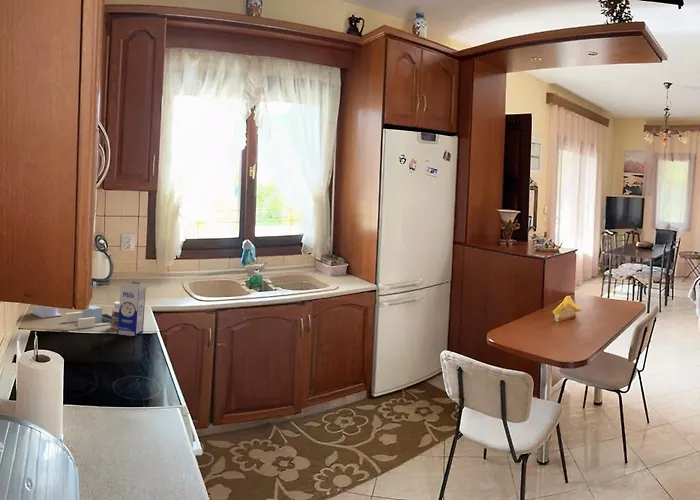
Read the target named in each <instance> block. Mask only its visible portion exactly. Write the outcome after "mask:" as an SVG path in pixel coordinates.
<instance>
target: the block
mask: <svg viewBox="0 0 700 500" xmlns="http://www.w3.org/2000/svg"><path fill="white" fill-rule="evenodd" d="M88 306H89V308H88V310H86V311H83V310H82V312H83V313H82V318H90V317H95V324H101V323H103V321H102V314H103V307H102V306H98V305H93V304H92V305H88Z"/></svg>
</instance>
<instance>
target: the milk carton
mask: <svg viewBox="0 0 700 500" xmlns="http://www.w3.org/2000/svg"><path fill="white" fill-rule="evenodd" d="M146 287H147V286H146V285H142V284H141V283H140V282H139V281H133V280H132V281H131V283H129V282H120V287H119V288H120V290H119V301H120V303H119V320H118V329H117V335H118V336H124V335H125V336H126V337H132V336H136V337H138V336H139V335H138V334H140V333H142V332H143V333H144V320H145V306H146V305H145V303H146V290H147V288H146ZM143 333H142V334H143ZM137 335H138V336H137ZM140 335H141V334H140ZM125 336H124V337H125Z"/></svg>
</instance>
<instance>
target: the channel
mask: <svg viewBox="0 0 700 500" xmlns="http://www.w3.org/2000/svg"><path fill="white" fill-rule="evenodd" d="M82 314H83V311H75V312H66V313H65V323H73V322H75V323H76V322H77V329H85V328H86V329H87V328H94V327H104V326H111V323H106V322H100V323H96V324H95V317H90V318H82Z"/></svg>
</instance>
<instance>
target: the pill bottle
mask: <svg viewBox="0 0 700 500" xmlns="http://www.w3.org/2000/svg"><path fill="white" fill-rule="evenodd" d="M119 303H120V300H119V301H114V302H113V306H114V307H113V308H112V310H111V316H112V322H111V325H110V326H111V328H112V329H115V330H118V320H119Z"/></svg>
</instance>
